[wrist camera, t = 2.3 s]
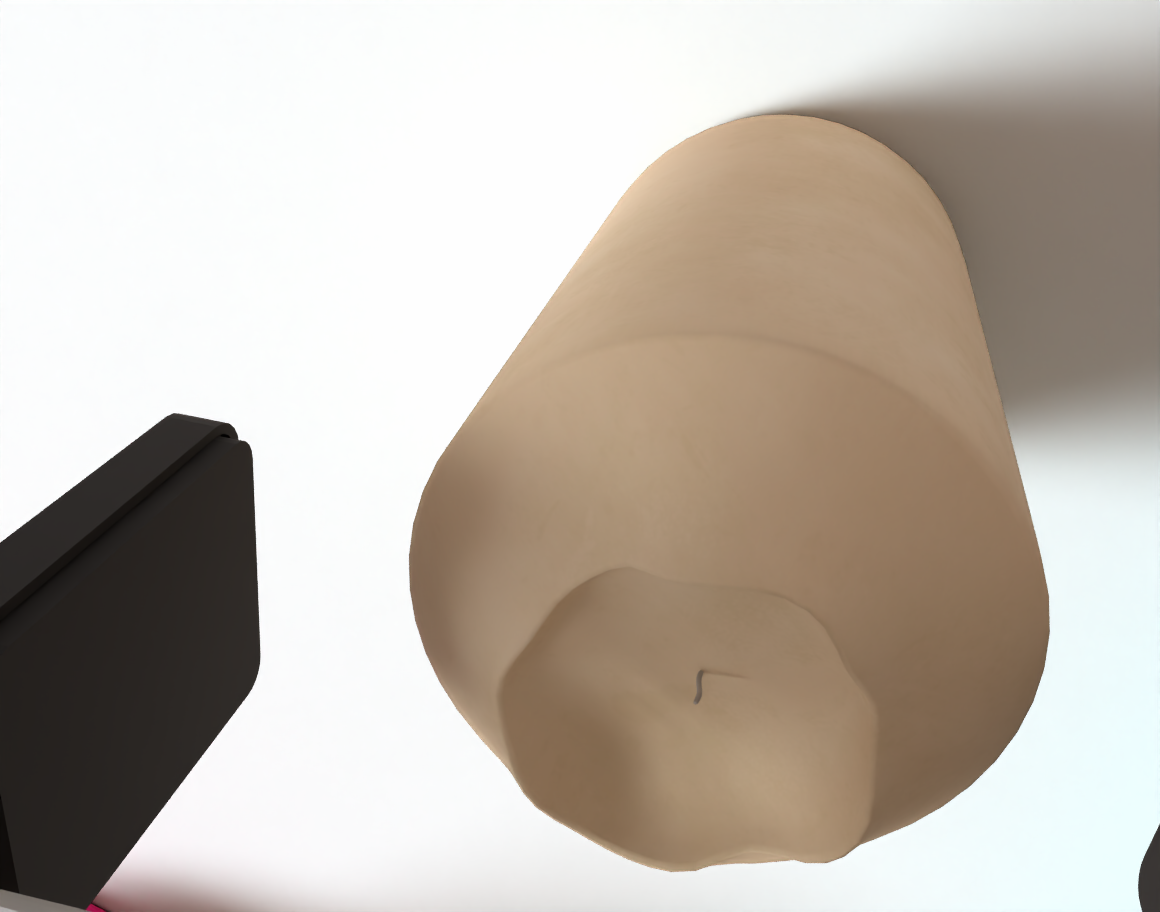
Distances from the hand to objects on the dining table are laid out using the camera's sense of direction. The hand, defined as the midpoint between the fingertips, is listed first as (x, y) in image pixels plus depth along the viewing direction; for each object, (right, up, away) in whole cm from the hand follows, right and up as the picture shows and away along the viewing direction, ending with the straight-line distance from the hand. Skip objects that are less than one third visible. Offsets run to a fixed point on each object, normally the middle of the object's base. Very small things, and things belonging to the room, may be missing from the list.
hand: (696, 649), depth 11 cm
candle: (+2, +4, +7) cm, 8 cm away
